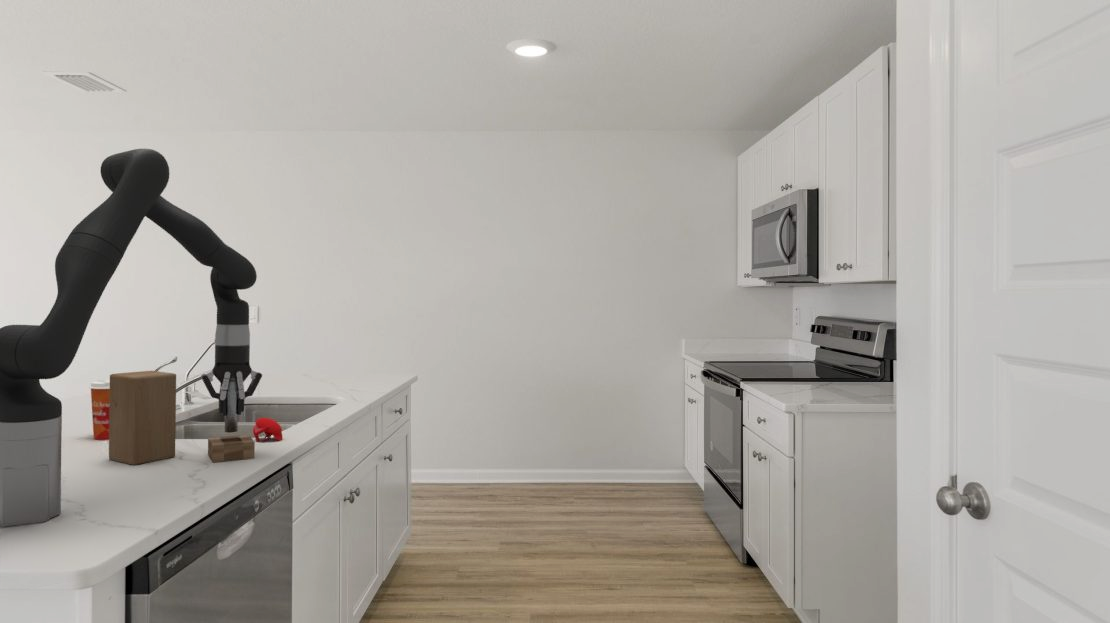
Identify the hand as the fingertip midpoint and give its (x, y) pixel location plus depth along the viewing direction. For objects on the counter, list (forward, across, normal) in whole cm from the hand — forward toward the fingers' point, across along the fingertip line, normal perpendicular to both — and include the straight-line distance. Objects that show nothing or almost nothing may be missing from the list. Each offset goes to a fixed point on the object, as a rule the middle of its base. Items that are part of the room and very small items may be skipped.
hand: (231, 414), depth 161 cm
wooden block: (+10, -18, +7) cm, 22 cm away
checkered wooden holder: (+10, 0, 0) cm, 10 cm away
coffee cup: (+10, -25, +36) cm, 45 cm away
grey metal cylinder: (+4, 0, 0) cm, 4 cm away
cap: (+10, +11, +15) cm, 21 cm away
